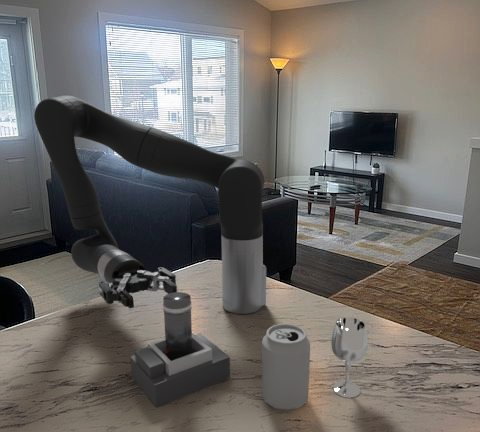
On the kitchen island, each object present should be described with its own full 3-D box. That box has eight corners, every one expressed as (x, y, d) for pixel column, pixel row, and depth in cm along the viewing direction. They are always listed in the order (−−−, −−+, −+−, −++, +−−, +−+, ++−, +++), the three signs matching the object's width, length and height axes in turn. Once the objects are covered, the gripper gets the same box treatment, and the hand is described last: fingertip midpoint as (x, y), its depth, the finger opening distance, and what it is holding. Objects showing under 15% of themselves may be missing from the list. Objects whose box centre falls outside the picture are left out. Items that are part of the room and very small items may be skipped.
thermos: (185, 346, 85) (182, 289, 82) (198, 358, 81) (196, 299, 78) (160, 354, 82) (157, 296, 79) (172, 367, 79) (169, 306, 76)
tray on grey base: (201, 352, 91) (200, 322, 89) (230, 377, 83) (229, 344, 81) (131, 377, 83) (129, 344, 81) (156, 407, 75) (154, 372, 73)
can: (306, 417, 73) (309, 346, 69) (258, 410, 74) (258, 341, 71) (309, 387, 80) (312, 322, 77) (265, 382, 81) (266, 318, 78)
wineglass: (344, 404, 75) (347, 336, 72) (321, 385, 80) (324, 320, 77) (371, 393, 78) (376, 327, 75) (348, 375, 83) (352, 312, 80)
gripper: (85, 261, 95) (115, 287, 83) (150, 247, 103) (187, 269, 91) (88, 295, 97) (118, 326, 85) (152, 279, 105) (188, 306, 92)
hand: (153, 297), depth 88 cm, fingers open, 8 cm apart
